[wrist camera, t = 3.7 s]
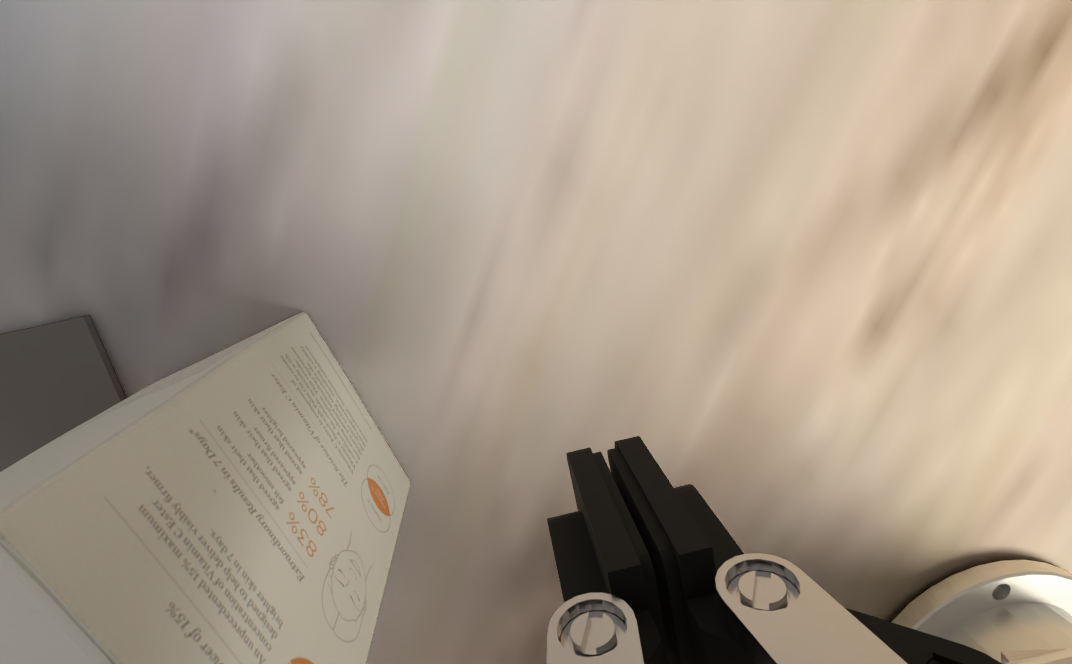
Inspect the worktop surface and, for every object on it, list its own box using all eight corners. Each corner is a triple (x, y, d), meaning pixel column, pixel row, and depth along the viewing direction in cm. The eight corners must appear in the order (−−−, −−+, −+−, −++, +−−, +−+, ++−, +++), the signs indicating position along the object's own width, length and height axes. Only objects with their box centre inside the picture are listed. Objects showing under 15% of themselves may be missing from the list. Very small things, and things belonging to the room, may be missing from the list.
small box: (150, 382, 19) (-464, 726, 7) (307, 306, 19) (-20, 512, 7) (273, 552, 21) (-20, 1055, 9) (416, 485, 21) (322, 897, 9)
